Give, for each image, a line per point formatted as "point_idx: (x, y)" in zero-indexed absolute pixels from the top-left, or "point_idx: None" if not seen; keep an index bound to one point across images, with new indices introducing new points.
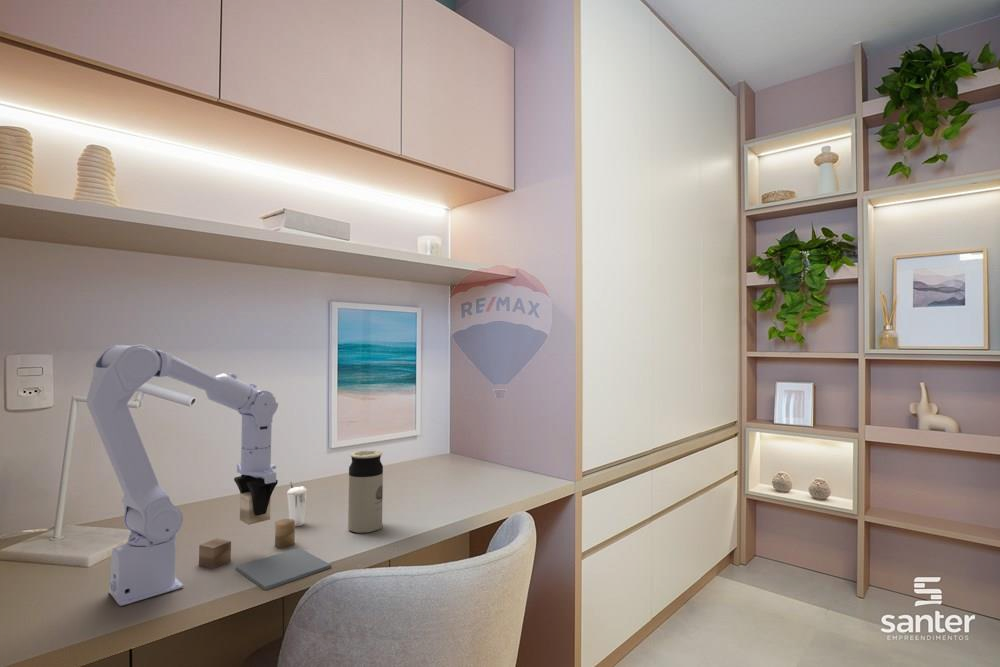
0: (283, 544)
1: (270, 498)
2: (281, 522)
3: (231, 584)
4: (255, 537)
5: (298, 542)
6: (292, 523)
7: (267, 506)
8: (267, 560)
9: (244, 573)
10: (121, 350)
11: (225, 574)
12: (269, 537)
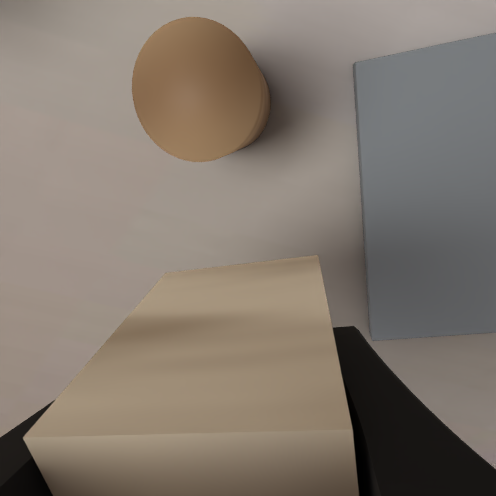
0: (265, 123)
1: (339, 364)
2: (195, 122)
3: (492, 373)
4: (63, 190)
5: (235, 31)
6: (250, 54)
7: (379, 358)
8: (406, 238)
9: (457, 332)
10: None
11: (387, 365)
12: (90, 139)
